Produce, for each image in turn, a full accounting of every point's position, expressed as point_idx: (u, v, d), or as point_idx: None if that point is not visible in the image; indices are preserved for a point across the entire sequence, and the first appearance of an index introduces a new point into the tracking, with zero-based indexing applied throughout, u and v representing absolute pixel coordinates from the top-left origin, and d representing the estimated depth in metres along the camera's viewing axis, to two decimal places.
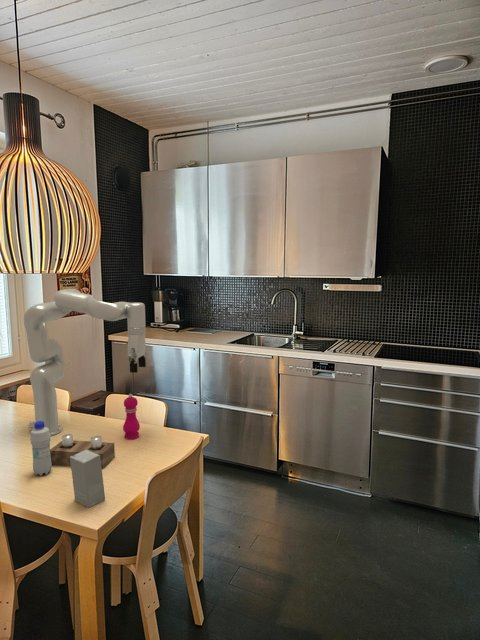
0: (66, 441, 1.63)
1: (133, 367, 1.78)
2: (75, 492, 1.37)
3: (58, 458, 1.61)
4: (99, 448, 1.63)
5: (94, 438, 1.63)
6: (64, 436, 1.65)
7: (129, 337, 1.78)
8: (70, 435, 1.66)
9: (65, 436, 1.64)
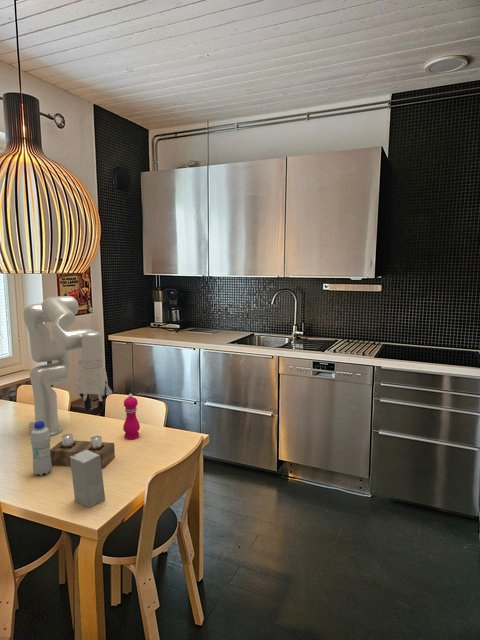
0: (66, 441, 1.63)
1: (103, 404, 1.61)
2: (75, 492, 1.37)
3: (58, 458, 1.61)
4: (99, 448, 1.63)
5: (94, 438, 1.63)
6: (64, 436, 1.65)
7: (101, 370, 1.58)
8: (70, 435, 1.66)
9: (65, 436, 1.64)
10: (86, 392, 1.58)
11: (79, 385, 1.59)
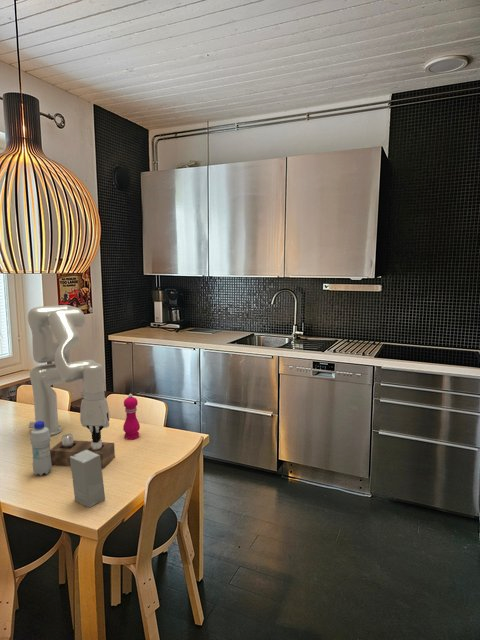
0: (66, 441, 1.63)
1: (100, 435, 1.63)
2: (75, 492, 1.37)
3: (58, 458, 1.61)
4: None
5: None
6: (64, 436, 1.65)
7: (103, 402, 1.59)
8: (70, 435, 1.66)
9: (65, 436, 1.64)
10: (88, 424, 1.60)
11: (81, 417, 1.60)
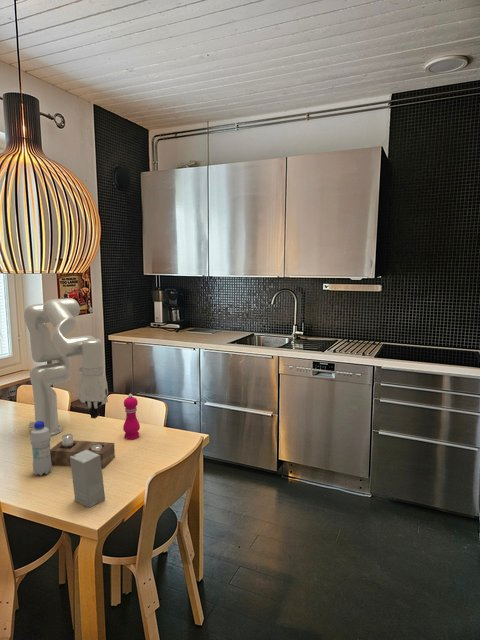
0: (66, 441, 1.63)
1: (98, 411, 1.62)
2: (75, 492, 1.37)
3: (58, 458, 1.61)
4: None
5: (95, 447, 1.63)
6: (64, 436, 1.65)
7: (102, 378, 1.58)
8: (70, 435, 1.66)
9: (65, 436, 1.64)
10: (86, 399, 1.59)
11: (79, 392, 1.59)
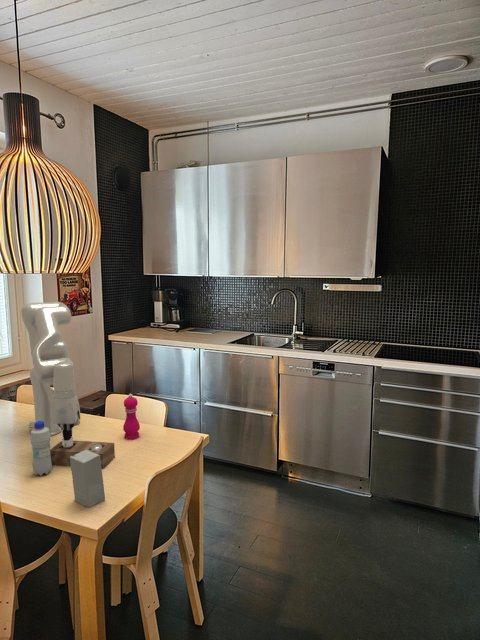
0: (66, 444, 1.63)
1: (71, 433, 1.65)
2: (75, 492, 1.37)
3: (58, 458, 1.61)
4: None
5: (95, 447, 1.63)
6: None
7: (73, 400, 1.61)
8: (70, 438, 1.66)
9: None
10: (58, 422, 1.61)
11: (52, 415, 1.62)
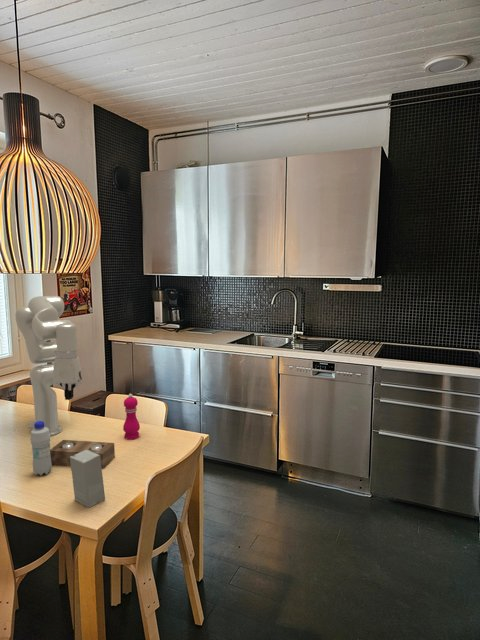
0: None
1: (72, 393, 1.68)
2: (75, 492, 1.37)
3: (58, 458, 1.61)
4: None
5: (95, 447, 1.63)
6: (65, 445, 1.65)
7: (75, 361, 1.64)
8: (70, 444, 1.66)
9: (65, 445, 1.65)
10: (60, 381, 1.65)
11: (54, 374, 1.65)
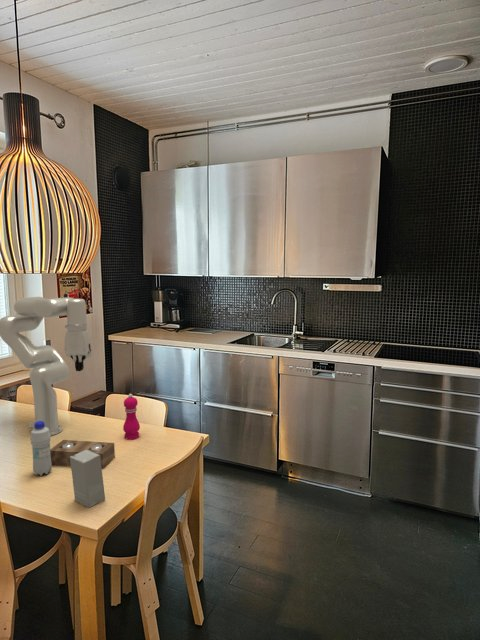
0: None
1: (82, 364, 1.79)
2: (75, 492, 1.37)
3: (58, 458, 1.61)
4: None
5: (95, 447, 1.63)
6: (65, 445, 1.65)
7: (85, 333, 1.75)
8: (70, 444, 1.66)
9: (65, 445, 1.65)
10: (71, 353, 1.76)
11: (65, 347, 1.76)
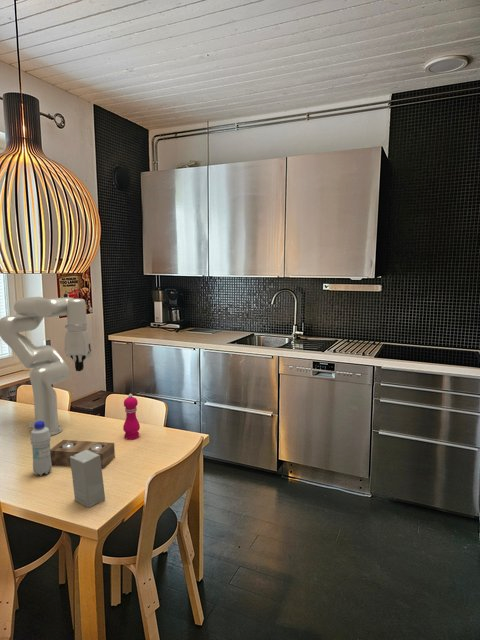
0: None
1: (82, 364, 1.79)
2: (75, 492, 1.37)
3: (58, 458, 1.61)
4: None
5: (95, 447, 1.63)
6: (65, 445, 1.65)
7: (85, 333, 1.75)
8: (70, 444, 1.66)
9: (65, 445, 1.65)
10: (71, 353, 1.76)
11: (65, 347, 1.76)
